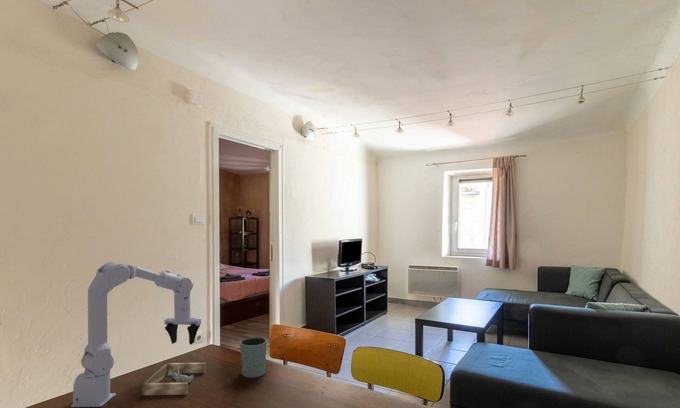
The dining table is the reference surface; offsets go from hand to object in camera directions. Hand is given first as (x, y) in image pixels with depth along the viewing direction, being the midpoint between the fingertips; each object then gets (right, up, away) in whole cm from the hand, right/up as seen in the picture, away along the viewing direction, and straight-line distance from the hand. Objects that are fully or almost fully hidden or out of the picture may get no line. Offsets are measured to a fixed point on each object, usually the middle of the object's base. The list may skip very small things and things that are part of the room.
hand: (183, 343), depth 140 cm
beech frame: (+3, -10, -11) cm, 15 cm away
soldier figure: (+4, -10, -11) cm, 16 cm away
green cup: (+28, -10, -3) cm, 30 cm away
